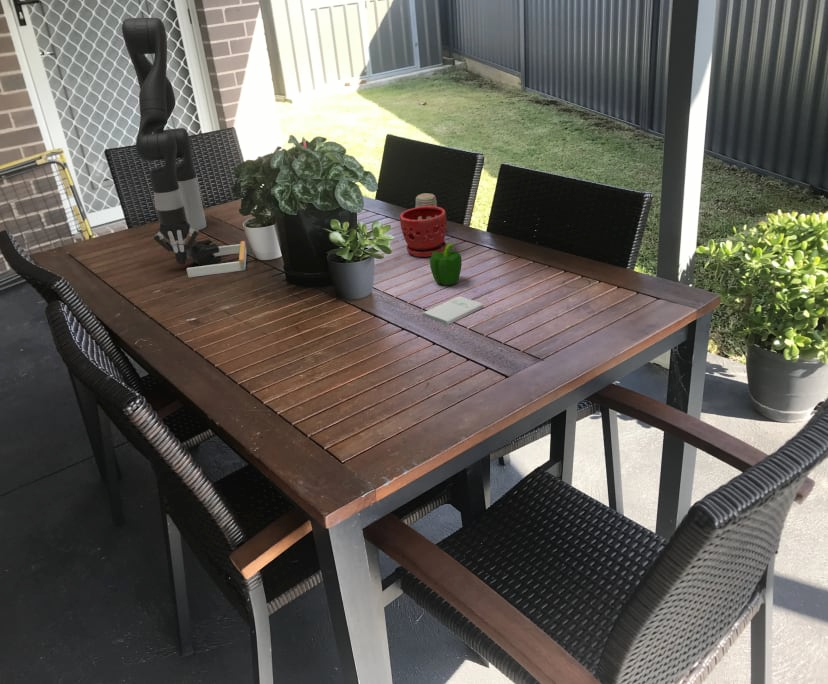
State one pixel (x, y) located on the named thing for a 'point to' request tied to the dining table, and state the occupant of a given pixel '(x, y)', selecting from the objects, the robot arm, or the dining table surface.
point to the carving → (425, 202)
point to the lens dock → (224, 266)
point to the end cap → (204, 253)
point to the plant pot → (424, 230)
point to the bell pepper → (446, 266)
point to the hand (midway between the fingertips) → (182, 263)
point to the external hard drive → (453, 310)
